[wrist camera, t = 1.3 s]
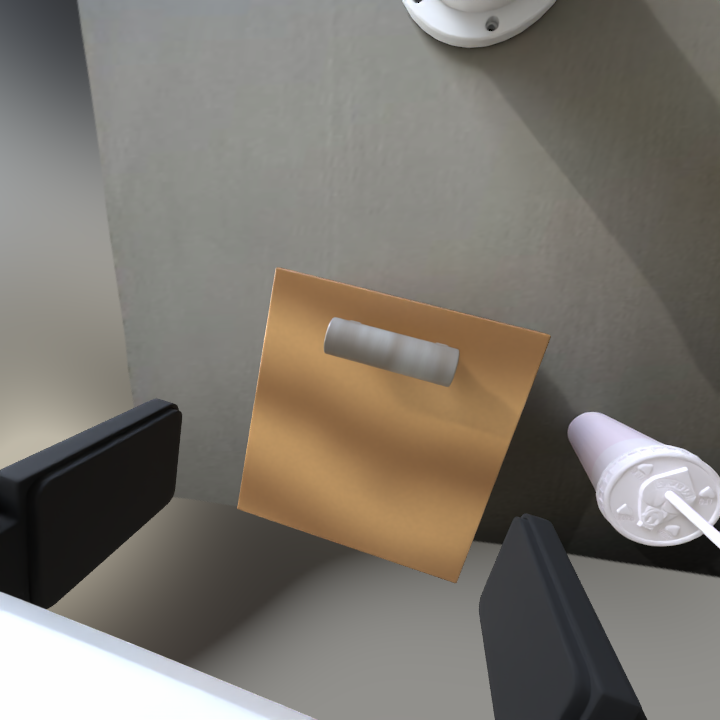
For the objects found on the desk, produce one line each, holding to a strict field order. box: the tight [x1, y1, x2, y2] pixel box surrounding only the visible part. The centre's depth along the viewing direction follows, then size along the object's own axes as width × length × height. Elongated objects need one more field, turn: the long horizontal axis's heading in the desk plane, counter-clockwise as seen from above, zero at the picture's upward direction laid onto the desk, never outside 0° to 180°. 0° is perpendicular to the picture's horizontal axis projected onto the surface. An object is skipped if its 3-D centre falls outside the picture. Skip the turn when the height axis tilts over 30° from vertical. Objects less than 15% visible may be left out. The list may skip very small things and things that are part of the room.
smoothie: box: [567, 412, 720, 548], centre depth 24 cm, size 6×6×14 cm
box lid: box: [238, 268, 551, 583], centre depth 20 cm, size 17×16×5 cm
